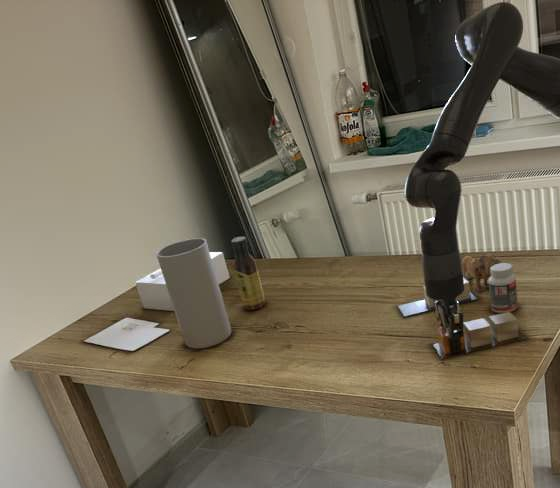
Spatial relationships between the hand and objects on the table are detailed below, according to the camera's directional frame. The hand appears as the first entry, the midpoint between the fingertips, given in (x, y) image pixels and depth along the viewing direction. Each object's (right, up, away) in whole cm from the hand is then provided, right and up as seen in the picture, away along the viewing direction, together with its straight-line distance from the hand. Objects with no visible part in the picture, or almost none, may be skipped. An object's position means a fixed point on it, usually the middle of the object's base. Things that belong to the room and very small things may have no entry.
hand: (452, 347), depth 142 cm
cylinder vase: (-54, +3, +35) cm, 65 cm away
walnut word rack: (+5, +1, 0) cm, 6 cm away
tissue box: (-65, +20, +72) cm, 99 cm away
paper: (-78, +5, +51) cm, 94 cm away
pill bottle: (+15, +9, +11) cm, 21 cm away
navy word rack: (+2, +11, +22) cm, 25 cm away
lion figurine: (+13, +16, +26) cm, 33 cm away
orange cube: (0, 0, 0) cm, 0 cm away
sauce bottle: (-43, +13, +48) cm, 65 cm away
